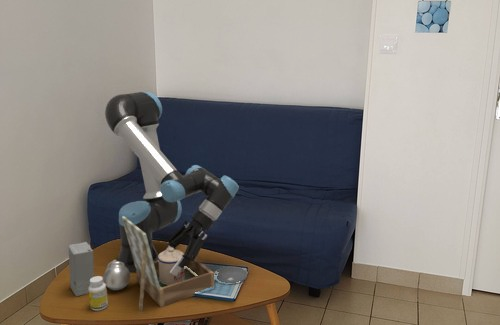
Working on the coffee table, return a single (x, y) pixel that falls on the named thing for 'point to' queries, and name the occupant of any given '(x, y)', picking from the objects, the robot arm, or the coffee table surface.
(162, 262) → the teacup with lid
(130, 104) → the robot arm
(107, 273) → the silver metal rounded piece
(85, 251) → the skincare box
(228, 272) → the trivet
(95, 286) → the supplement bottle
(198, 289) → the open wooden keepsake box
